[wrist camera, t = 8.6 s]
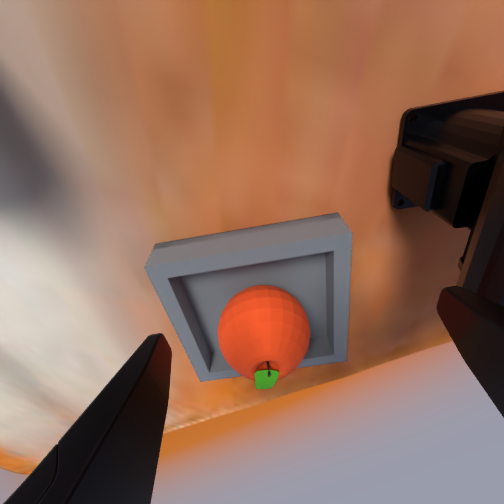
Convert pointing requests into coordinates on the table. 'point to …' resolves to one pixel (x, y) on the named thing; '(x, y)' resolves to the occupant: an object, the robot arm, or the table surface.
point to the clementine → (263, 334)
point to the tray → (256, 273)
